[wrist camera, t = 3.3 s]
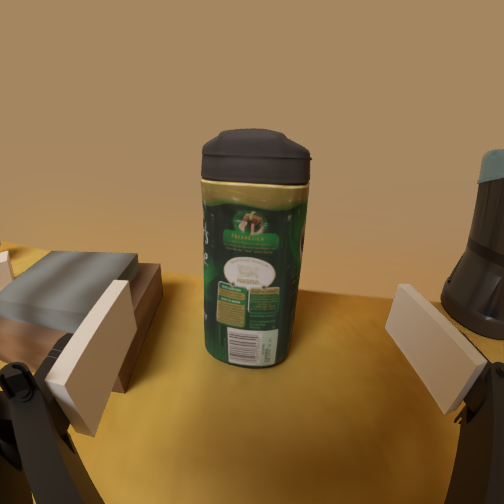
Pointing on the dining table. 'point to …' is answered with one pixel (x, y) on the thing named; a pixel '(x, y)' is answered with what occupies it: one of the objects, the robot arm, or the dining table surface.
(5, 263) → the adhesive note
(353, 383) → the dining table surface
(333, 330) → the dining table surface
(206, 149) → the coffee jar
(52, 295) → the tower stand
